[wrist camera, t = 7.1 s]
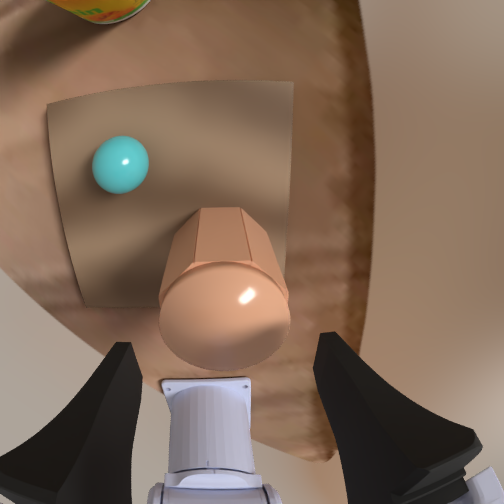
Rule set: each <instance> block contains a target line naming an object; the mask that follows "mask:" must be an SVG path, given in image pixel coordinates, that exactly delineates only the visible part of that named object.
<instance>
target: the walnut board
mask: <svg viewBox="0 0 504 504" xmlns="http://www.w3.org/2000/svg"><path fill="white" fill-rule="evenodd" d="M293 85H294V82H285V81H262V80H216V81H192V82H178V83H166V84H156V85H147V86H138V87H131V88H124V89H117V90H111V91H105V92H100V93H94V94H89V95H84V96H80V97H75V98H70V99H66V100H62V101H58V102H54V103H50V104H47V118H48V131H49V141H50V151H51V159H52V166H53V173H54V180H55V186H56V192H57V198H58V203H59V208H60V213H61V218H62V223H63V227H64V232H65V236H66V240H67V244H68V248H69V252H70V256H71V260H72V263H73V267H74V270H75V274H76V277H77V281H78V284H79V287H80V290H81V294H82V297H83V300H84V303H85V306H86V307H95V308H133V307H160V304H159V298H158V297H159V292H160V288H161V284H162V280H163V276H164V272H165V268H166V264H167V260H168V256H169V253H170V249H171V245H172V241H173V238H174V235H175V233H176V232H177V231H178V230H179V229H180V228H181V227H182V226H183V225H184V224H185V223H186V222H187V221H188V220H189V219H190V218H191V217H192V216H193V215H194V214H195V213H196V212H197V211H198V210H199V209H201V208H217V207H240V208H242V209H243V210H244V211H245V212H246V213H247V214H248V215H249V216H250V217H251V218H252V219H253V220H255V221H256V222H257V223H258V224H259V225H260V226H261V227H262V228H263V229H264V230H265V231H266V232H267V234H268V237H269V240H270V243H271V245H272V248H273V251H274V254H275V256H276V259H277V262H278V265H279V267H280V270H281V273H282V276H283V279H284V271H285V257H286V242H287V226H288V209H289V191H290V171H291V148H292V121H293ZM115 136H129V137H132V138H134V139H136V140H138V141H139V142H140V143H141V144H142V145H143V146H144V148H145V149H146V151H147V154H148V158H149V168H148V172H147V175H146V177H145V179H144V181H143V182H142V183H141V184H140V185H139V186H138V187H137V188H136V189H134V190H133V191H130V192H128V193H124V194H114V193H110V192H107V191H106V190H104V189H103V188H101V187H100V186H99V185H98V183H97V182H96V180H95V178H94V176H93V172H92V161H93V157H94V154H95V152H96V151H97V149H98V148H99V146H100V145H101V144H102V143H103V142H105V141H106V140H108V139H110V138H112V137H115Z"/></svg>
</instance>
